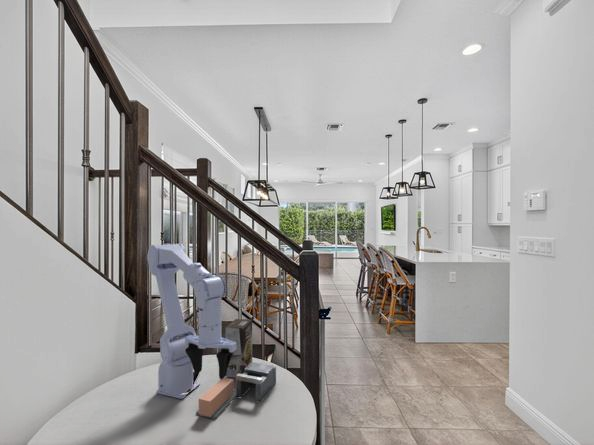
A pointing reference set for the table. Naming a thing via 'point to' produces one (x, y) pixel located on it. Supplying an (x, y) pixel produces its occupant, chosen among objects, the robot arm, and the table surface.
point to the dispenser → (256, 380)
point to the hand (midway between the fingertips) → (210, 374)
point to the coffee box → (239, 345)
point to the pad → (222, 406)
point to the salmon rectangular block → (215, 397)
